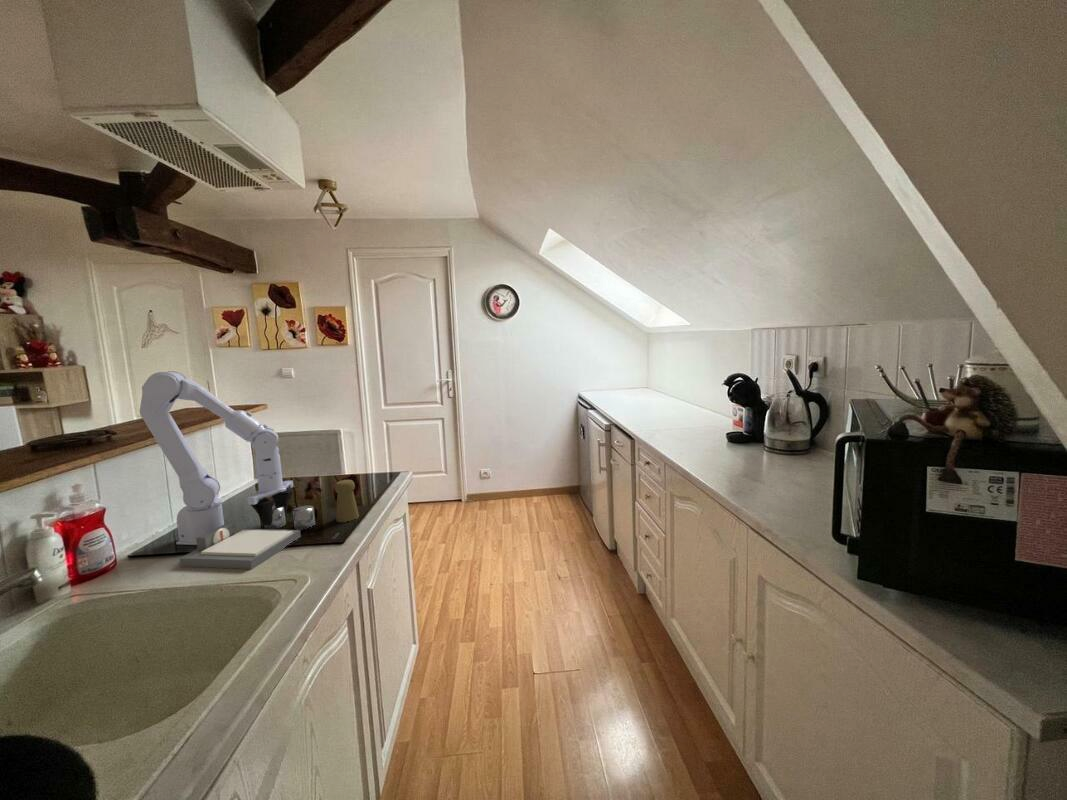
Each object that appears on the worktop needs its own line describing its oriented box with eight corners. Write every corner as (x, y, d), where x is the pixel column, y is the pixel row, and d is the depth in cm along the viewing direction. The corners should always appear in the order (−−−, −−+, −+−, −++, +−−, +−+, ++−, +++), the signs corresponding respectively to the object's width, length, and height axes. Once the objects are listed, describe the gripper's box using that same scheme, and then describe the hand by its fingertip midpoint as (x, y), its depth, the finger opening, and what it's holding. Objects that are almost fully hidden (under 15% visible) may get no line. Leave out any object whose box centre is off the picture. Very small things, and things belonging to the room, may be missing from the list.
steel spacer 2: (290, 529, 115) (288, 512, 114) (302, 522, 119) (301, 505, 119) (307, 530, 114) (305, 512, 113) (319, 522, 119) (317, 505, 118)
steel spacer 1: (260, 529, 116) (258, 511, 115) (273, 521, 121) (271, 504, 120) (277, 529, 115) (275, 511, 115) (289, 522, 120) (288, 505, 119)
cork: (363, 514, 124) (359, 477, 123) (352, 522, 118) (348, 484, 117) (343, 514, 125) (340, 477, 123) (331, 522, 119) (328, 484, 117)
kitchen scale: (180, 566, 96) (177, 543, 95) (238, 535, 112) (236, 515, 111) (251, 569, 93) (248, 545, 93) (301, 537, 109) (298, 516, 109)
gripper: (262, 481, 108) (268, 531, 110) (300, 465, 123) (305, 510, 124) (237, 481, 109) (243, 531, 111) (278, 465, 124) (283, 510, 125)
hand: (274, 520), depth 118 cm, fingers closed on steel spacer 1, 5 cm apart
